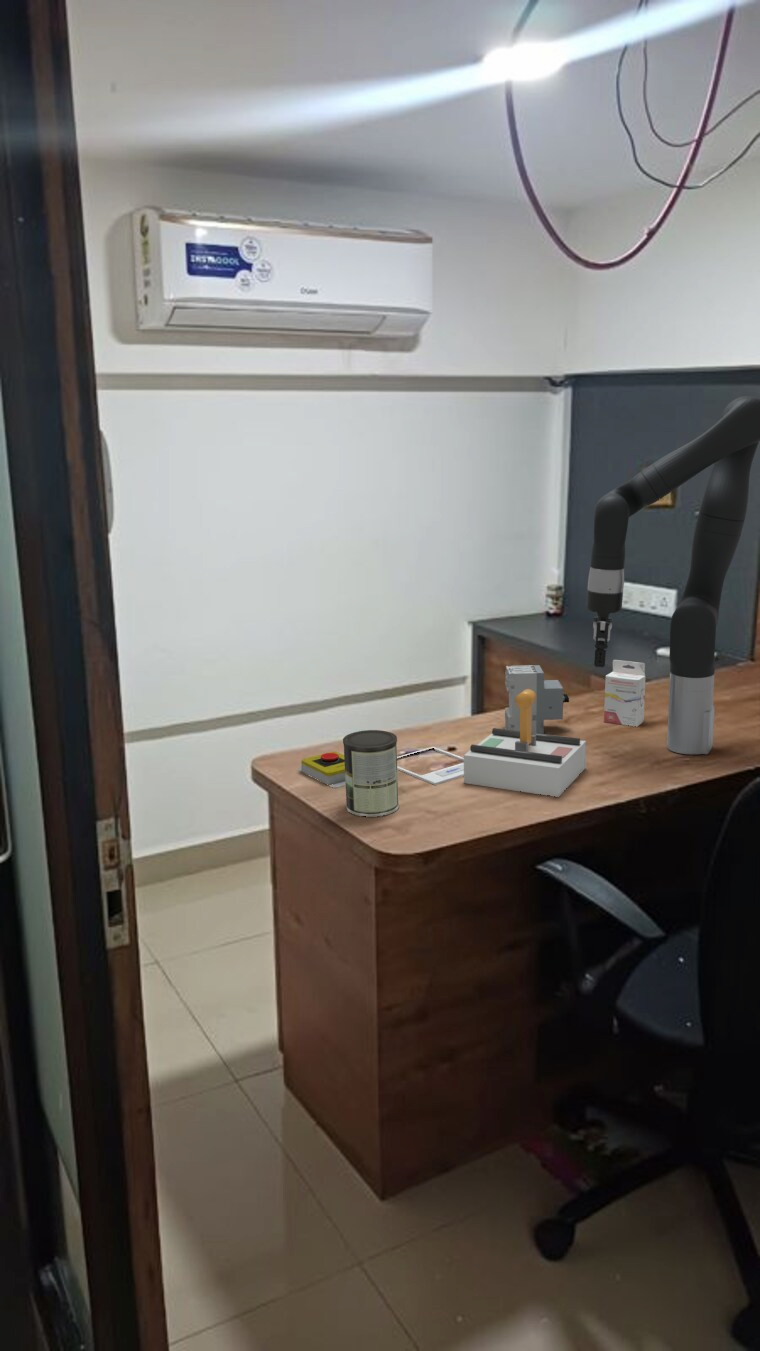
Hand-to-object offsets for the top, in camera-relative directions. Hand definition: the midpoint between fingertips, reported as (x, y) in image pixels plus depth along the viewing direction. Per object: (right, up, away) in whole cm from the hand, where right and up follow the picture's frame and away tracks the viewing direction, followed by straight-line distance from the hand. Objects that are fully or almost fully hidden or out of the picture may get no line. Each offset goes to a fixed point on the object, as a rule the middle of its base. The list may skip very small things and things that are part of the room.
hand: (599, 661), depth 218 cm
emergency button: (-58, -25, -6) cm, 63 cm away
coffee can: (-49, -29, -25) cm, 62 cm away
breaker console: (-18, -24, -11) cm, 32 cm away
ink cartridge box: (+11, -14, +22) cm, 29 cm away
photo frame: (-36, -23, -3) cm, 43 cm away
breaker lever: (-18, -18, -13) cm, 28 cm away
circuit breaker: (-11, -16, +18) cm, 27 cm away
